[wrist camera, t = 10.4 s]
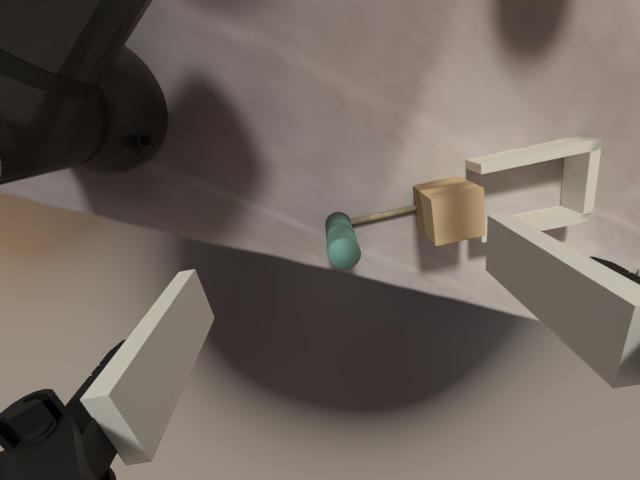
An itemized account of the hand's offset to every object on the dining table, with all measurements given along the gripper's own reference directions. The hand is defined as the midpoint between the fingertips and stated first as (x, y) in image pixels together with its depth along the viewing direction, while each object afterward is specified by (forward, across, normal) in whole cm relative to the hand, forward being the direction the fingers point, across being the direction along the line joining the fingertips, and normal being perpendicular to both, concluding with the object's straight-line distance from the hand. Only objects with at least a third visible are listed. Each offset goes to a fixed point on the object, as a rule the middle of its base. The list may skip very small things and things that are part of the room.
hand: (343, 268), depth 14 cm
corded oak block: (+29, +9, -9) cm, 31 cm away
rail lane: (+28, +26, -8) cm, 39 cm away
